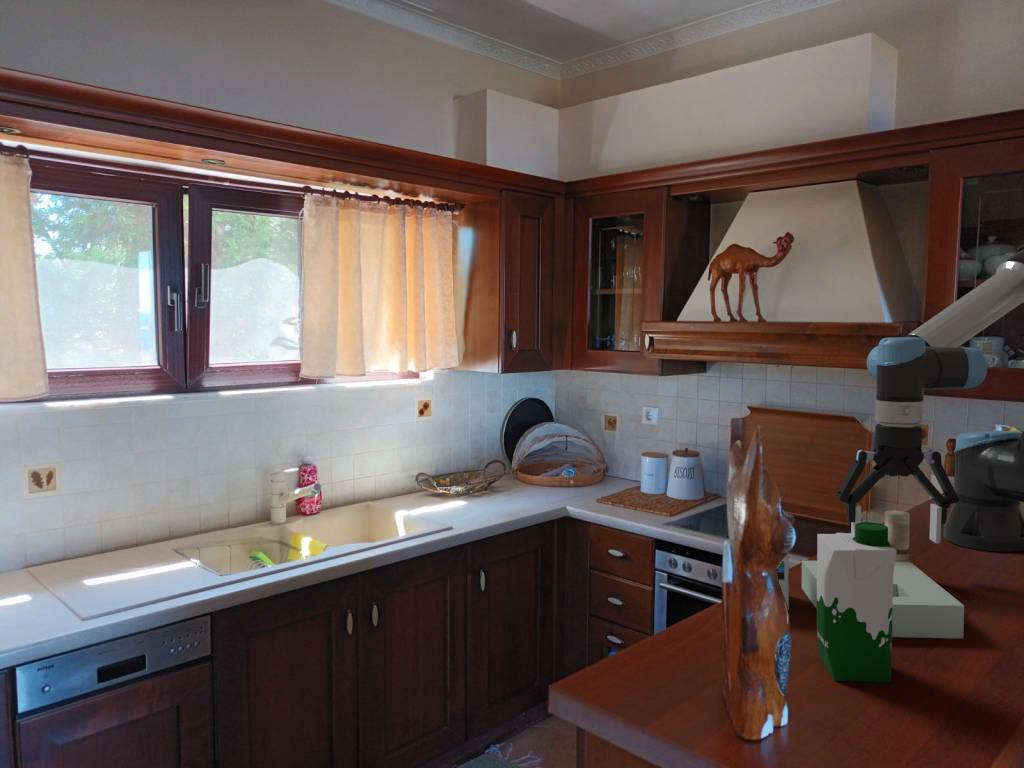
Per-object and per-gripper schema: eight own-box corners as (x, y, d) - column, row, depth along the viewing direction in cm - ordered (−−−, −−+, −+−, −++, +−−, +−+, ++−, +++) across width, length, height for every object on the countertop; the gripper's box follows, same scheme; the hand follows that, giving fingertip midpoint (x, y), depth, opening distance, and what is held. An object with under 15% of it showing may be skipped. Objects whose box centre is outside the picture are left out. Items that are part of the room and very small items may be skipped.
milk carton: (900, 686, 98) (903, 535, 97) (828, 684, 99) (829, 535, 98) (875, 655, 107) (877, 517, 105) (809, 654, 108) (810, 517, 106)
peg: (903, 574, 139) (904, 510, 138) (912, 582, 135) (913, 516, 134) (880, 573, 140) (881, 510, 139) (888, 581, 136) (889, 516, 135)
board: (909, 589, 132) (909, 561, 131) (963, 638, 112) (964, 605, 111) (801, 588, 134) (801, 560, 133) (836, 635, 114) (836, 603, 114)
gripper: (832, 426, 133) (829, 544, 135) (983, 427, 130) (978, 548, 132) (819, 420, 140) (817, 533, 142) (963, 421, 137) (958, 535, 139)
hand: (894, 540), depth 137 cm, fingers open, 13 cm apart
